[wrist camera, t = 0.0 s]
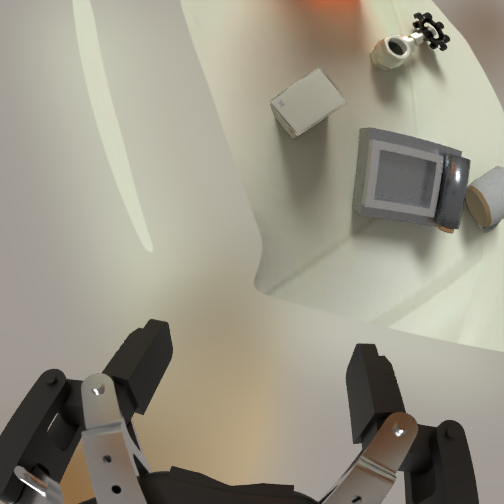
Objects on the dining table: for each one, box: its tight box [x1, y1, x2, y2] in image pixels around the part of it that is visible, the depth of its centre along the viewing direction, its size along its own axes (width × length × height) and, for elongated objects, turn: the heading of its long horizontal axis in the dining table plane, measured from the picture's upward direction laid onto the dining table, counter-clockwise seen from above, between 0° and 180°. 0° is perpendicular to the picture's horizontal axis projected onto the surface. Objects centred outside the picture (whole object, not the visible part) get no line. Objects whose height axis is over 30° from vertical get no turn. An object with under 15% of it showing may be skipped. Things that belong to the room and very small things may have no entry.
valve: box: [370, 12, 450, 71], centre depth 23 cm, size 7×7×12 cm
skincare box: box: [269, 68, 347, 139], centre depth 27 cm, size 6×4×12 cm
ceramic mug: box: [466, 166, 504, 232], centre depth 29 cm, size 11×8×8 cm
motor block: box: [352, 128, 471, 233], centre depth 30 cm, size 11×14×9 cm
